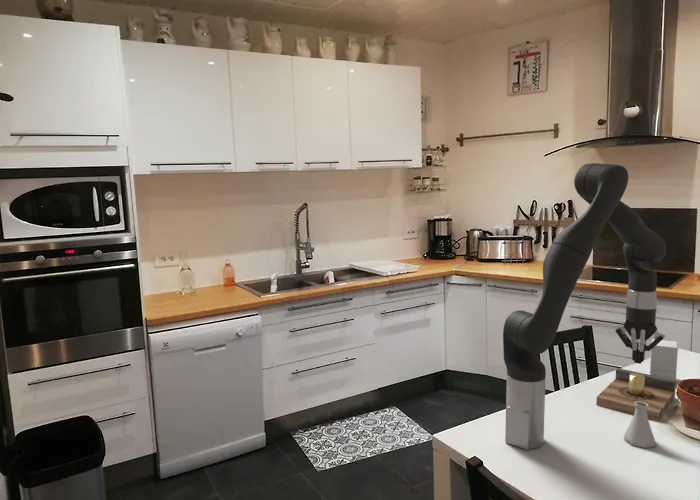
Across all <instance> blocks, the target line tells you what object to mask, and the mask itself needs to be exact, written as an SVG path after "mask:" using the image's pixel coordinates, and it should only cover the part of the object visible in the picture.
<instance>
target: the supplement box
mask: <svg viewBox="0 0 700 500" xmlns="http://www.w3.org/2000/svg"><path fill="white" fill-rule="evenodd" d="M654 340H655V339H654V338H652V339H651V343H652V342H653V341H654ZM651 343H650V344H651ZM678 351H679V348H678V342H677V341H674V340H673V341H672V340H666V339H665V340H664V339H663V340H662V341H660V342H659V343H658V344H657V345H656V346H655V347H654V348H652V349H651V350H650V361H649V363H650V364H649V365H650V366H649V367H650V368H649V375H653V376H658V377H663V378H667V379H672V380H676V381H677V372H678V371H677V369H678V368H677V367H678Z"/></svg>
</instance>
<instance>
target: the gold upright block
mask: <svg viewBox="0 0 700 500" xmlns="http://www.w3.org/2000/svg"><path fill="white" fill-rule="evenodd" d="M644 384H645V376H644V375H642V374H638V373H631V374H629V392H628V394H629V395H631V396H636V397H644Z"/></svg>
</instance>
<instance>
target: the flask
mask: <svg viewBox="0 0 700 500" xmlns="http://www.w3.org/2000/svg"><path fill="white" fill-rule="evenodd" d="M634 405H635V406H636V409H635V413H634V415H633V417H632V419H631V421H630V423H629V424H628V427H627V429H626V431H625V432H624V434H623V435H624V436H623V441H625V442H626V443H628V444H629V445H631V446H634V447H639V448H644V449H645V448H646V449H647V448H648V449H649V448H655V447H656V440H655V436H654V434H653V431H652V427H651V424H650V422H649V419H648V416H647V408H648V407H649V404H647V403H645V402H641V401H636V402H635V404H634Z"/></svg>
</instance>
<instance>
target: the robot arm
mask: <svg viewBox="0 0 700 500" xmlns="http://www.w3.org/2000/svg"><path fill="white" fill-rule="evenodd" d="M573 182H574V183H573V185H574V188H575V191H576V193H577V194H578V195H579V196H580V197H581V198H582V199H583V200H584V201H585V202H586V203H588V205H589V206H588V207H587V209H586V210H585V211H584V213H582V215H581V216H579V217H577V219H575V220H574V221H573V222H571V223H570V224H569V225H568V226H566V227H565V228H564V229H563V230H561V231H560V232H559V233H558V234H557V235H556V236H555V237H554V239H553V241H552V242H551V244H550V247H549V248H548V250H547V253H546V255H545V257H544V259H543V263H542V283H543V288H542V293H541V297H540V301H539V303H538V305H537V308H536V309H535V311H534V313H532V312H530V311H525V310H514V311H513V312H511V313H509V315H508V316H507V318H506V320H504V324H503V325H504V326H503V330H502V331H503V332H502V342H503V343H502V347H503V362H504V365H505V367H506V396H505V397H506V399H505V401H506V404H505V405H506V407H505V432H504V433H505V440H504V441H505V443H506V444H510V445H512V446H515V447H517V448H521V449H523V450H526V451H530V450H531V449H537V448H540V447H542V446H543V445H544V443H545V441H544V440H545V438H544V437H545V412H546V411H545V410H546V409H545V405H546V404H545V403H546V375H547V373H546V372H547V370H546V369H547V368H546V366H545V364H544V363H543V362H542V360H540V358H539V357H538V355H541V354H543V353H545V352H546V351H547V350H548V349H549V348H550V347H551V345H552V343H553V342H554V339H555V338H556V334H557V331H558V329H559V326H560V324H561V321H562V318H563V315H564V312H565V311H566V307H567V305H568V303H569V299H570V298H571V296H572V294H573V291H574V290H575V286H576V285H577V282H578V280H579V278H580V276H581V275H582V273H583V272H584V269H585V267H586V265H587V262H588V260H589V258H590V257H591V254H592V252H593V249H594V247H595V245H596V243H597V241H598V239H599V238H600V235H601V233H602V231H603V229H604V228H605V226H606V224H607V223H608V224H609V225H610V226H611V227H612V229H613V231H615V233H616V234H617V236H618V237H619V239H620V240H621V241H622V242H623V246H622V251H623V255H624V261H625V263H626V268H627V272H628V287H627V295H626V309H625V321H624V323H623V325H622V326H621V327H619V326H618V327H617V328H616V329H615V332H616V334H617V336H618V337H619V339H620V340H621V341H622V343H623V344H624V345H625V347H626V348H629V349H631V351H632V353H631V359H632V361H633V363H635V364H642V363H643V362H644V361H645V357H646V356H645V353H646V352H651V349H652V348H654V347H655V346H656V345H657V344H658V343H659V342H660V341H662V340H664V339H665V337H666V336H665V334H662V333H661V332H659V331H658V328H657V326H656V321H657V319H656V318H657V316H656V315H657V305H658V300H657V299H658V298H657V286H658V285H657V282H658V274H657V272H656V271H655V270H654V269H650V268H647V267H645V266H644V265H643V263H642V262H649V263H658V262H661V261H662V260H663V259H664V258H665V256H666V254H667V245H666V243H665V241H664V239H663V238H662V237H661V236H660V235H659V234H658V233H656V232H655V231H654V230H652V228H649V227H648V226H647V225H646V224H645V222H644V221H643V219H642V218H641V216H640V215H639V214H638V213H637V212H636V211H635V210H634V209H633V208H632V207H630V206H629V205H627V204H626V203H624V202H623V201H622V200H621V199H622V198H623V196H624V194H625V193H626V190H627V187H628V183H629V172H628V170H627V168H626V167H624V166H623V165H620V164H615V163H614V164H613V163H612V164H611V163H610V164H609V163H600V162H599V163H597V162H596V163H595V162H593V163H584V164H583V165H581V166H580V167H578V169H577V171H576V172H575V174H574V181H573ZM627 334H628V335H629V336H630V337H629V336H628V335H627ZM653 335H654V336H653ZM652 336H653V339H655V340H654V341H653V342H652V341H651V342H652V343H649V344H648V345H647V343H648V340H649V339H650V338H652Z"/></svg>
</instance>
